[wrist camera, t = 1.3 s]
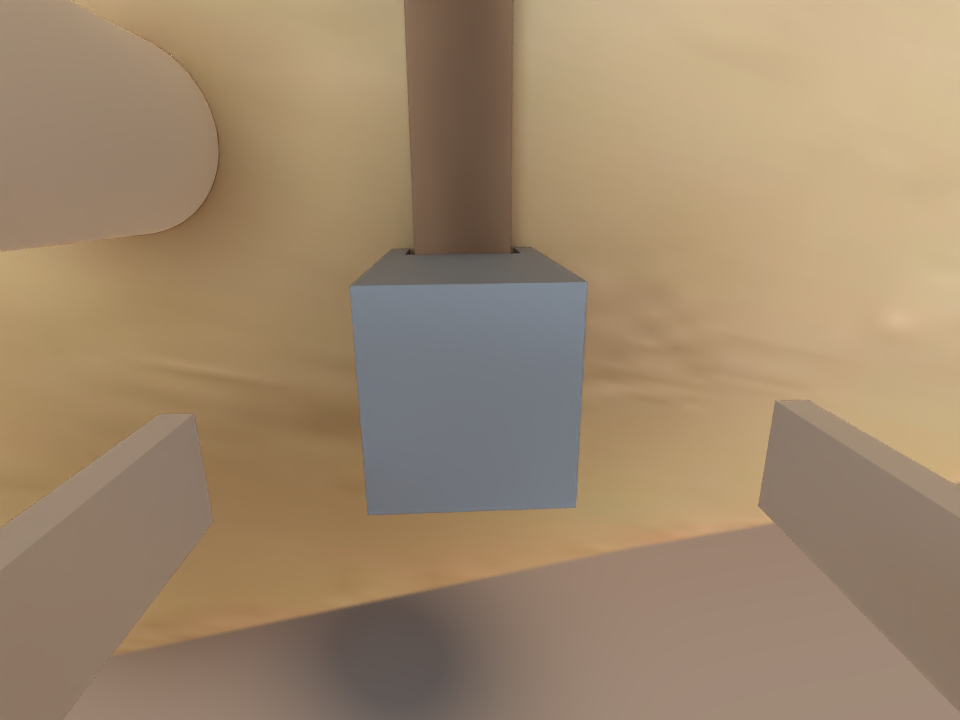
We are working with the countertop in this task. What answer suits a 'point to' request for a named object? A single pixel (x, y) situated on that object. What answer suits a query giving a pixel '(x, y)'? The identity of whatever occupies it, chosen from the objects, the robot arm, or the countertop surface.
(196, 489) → the robot arm
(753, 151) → the countertop surface
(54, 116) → the cup
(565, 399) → the block
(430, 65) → the rail
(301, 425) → the countertop surface
